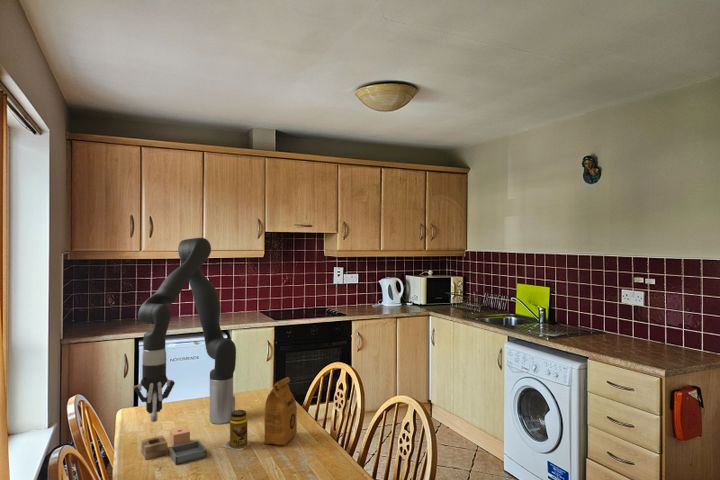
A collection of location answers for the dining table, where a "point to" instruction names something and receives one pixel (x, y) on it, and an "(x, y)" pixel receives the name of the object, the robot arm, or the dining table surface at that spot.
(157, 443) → the go block
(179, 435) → the block
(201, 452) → the tray
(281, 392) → the coffee package
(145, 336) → the robot arm
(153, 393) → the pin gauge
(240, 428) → the condiment
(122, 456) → the dining table surface
